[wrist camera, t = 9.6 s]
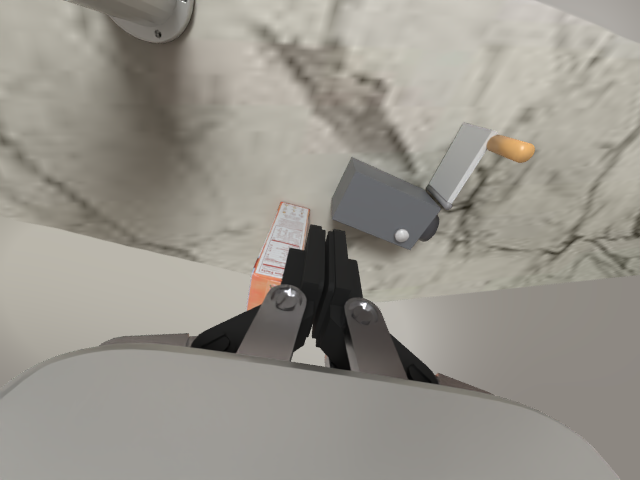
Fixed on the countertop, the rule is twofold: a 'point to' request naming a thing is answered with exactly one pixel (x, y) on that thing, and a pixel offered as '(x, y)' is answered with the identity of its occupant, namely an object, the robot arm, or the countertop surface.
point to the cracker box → (277, 250)
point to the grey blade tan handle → (472, 159)
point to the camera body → (384, 205)
